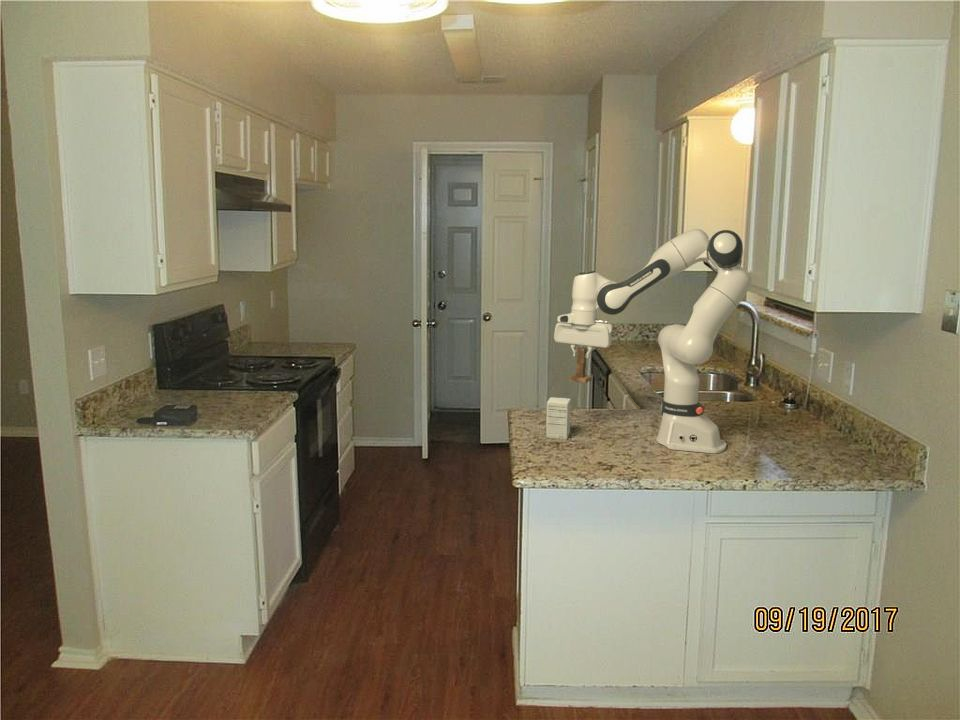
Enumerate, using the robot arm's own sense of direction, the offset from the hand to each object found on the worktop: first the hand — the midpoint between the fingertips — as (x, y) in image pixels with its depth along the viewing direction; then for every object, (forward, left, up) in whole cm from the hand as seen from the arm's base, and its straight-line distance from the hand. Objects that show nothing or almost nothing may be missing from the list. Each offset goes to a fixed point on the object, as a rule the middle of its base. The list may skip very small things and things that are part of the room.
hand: (581, 357), depth 261 cm
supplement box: (+3, +12, -26) cm, 29 cm away
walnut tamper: (0, 0, -8) cm, 8 cm away
